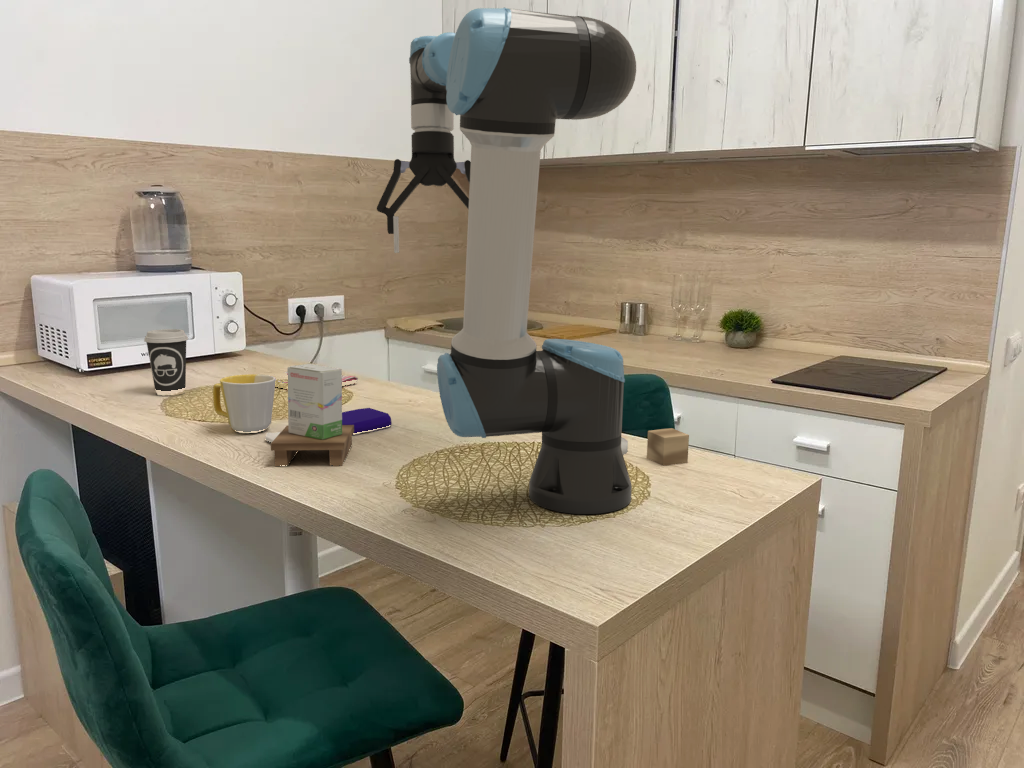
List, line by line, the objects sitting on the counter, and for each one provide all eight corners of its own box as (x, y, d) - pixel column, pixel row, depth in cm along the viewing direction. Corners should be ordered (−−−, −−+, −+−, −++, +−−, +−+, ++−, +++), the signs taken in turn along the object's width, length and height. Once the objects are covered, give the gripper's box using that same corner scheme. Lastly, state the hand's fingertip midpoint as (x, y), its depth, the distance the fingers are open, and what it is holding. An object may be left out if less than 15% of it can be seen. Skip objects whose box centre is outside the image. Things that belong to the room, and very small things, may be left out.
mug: (289, 429, 151) (286, 377, 149) (244, 440, 143) (241, 385, 141) (246, 419, 159) (243, 369, 157) (202, 429, 151) (198, 377, 149)
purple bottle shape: (366, 405, 161) (255, 427, 144) (396, 414, 153) (283, 438, 136) (366, 419, 161) (256, 442, 145) (397, 429, 154) (284, 454, 137)
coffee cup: (200, 392, 185) (196, 330, 182) (164, 399, 177) (159, 334, 174) (176, 387, 190) (171, 327, 187) (140, 394, 182) (134, 331, 179)
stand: (345, 465, 128) (344, 442, 127) (272, 466, 127) (270, 443, 127) (354, 446, 140) (354, 424, 139) (287, 446, 139) (286, 425, 138)
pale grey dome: (632, 458, 135) (632, 447, 135) (581, 458, 134) (582, 447, 134) (621, 444, 144) (622, 433, 143) (574, 444, 143) (574, 434, 143)
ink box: (287, 433, 133) (284, 366, 131) (310, 427, 137) (307, 362, 135) (323, 440, 129) (320, 371, 126) (345, 434, 133) (342, 366, 130)
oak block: (687, 463, 132) (689, 435, 131) (662, 466, 130) (664, 437, 129) (670, 455, 136) (672, 428, 135) (646, 458, 134) (647, 430, 133)
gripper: (501, 135, 141) (500, 252, 145) (364, 133, 139) (367, 251, 143) (503, 130, 134) (503, 253, 138) (359, 128, 132) (363, 253, 136)
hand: (434, 253), depth 141 cm, fingers open, 13 cm apart
